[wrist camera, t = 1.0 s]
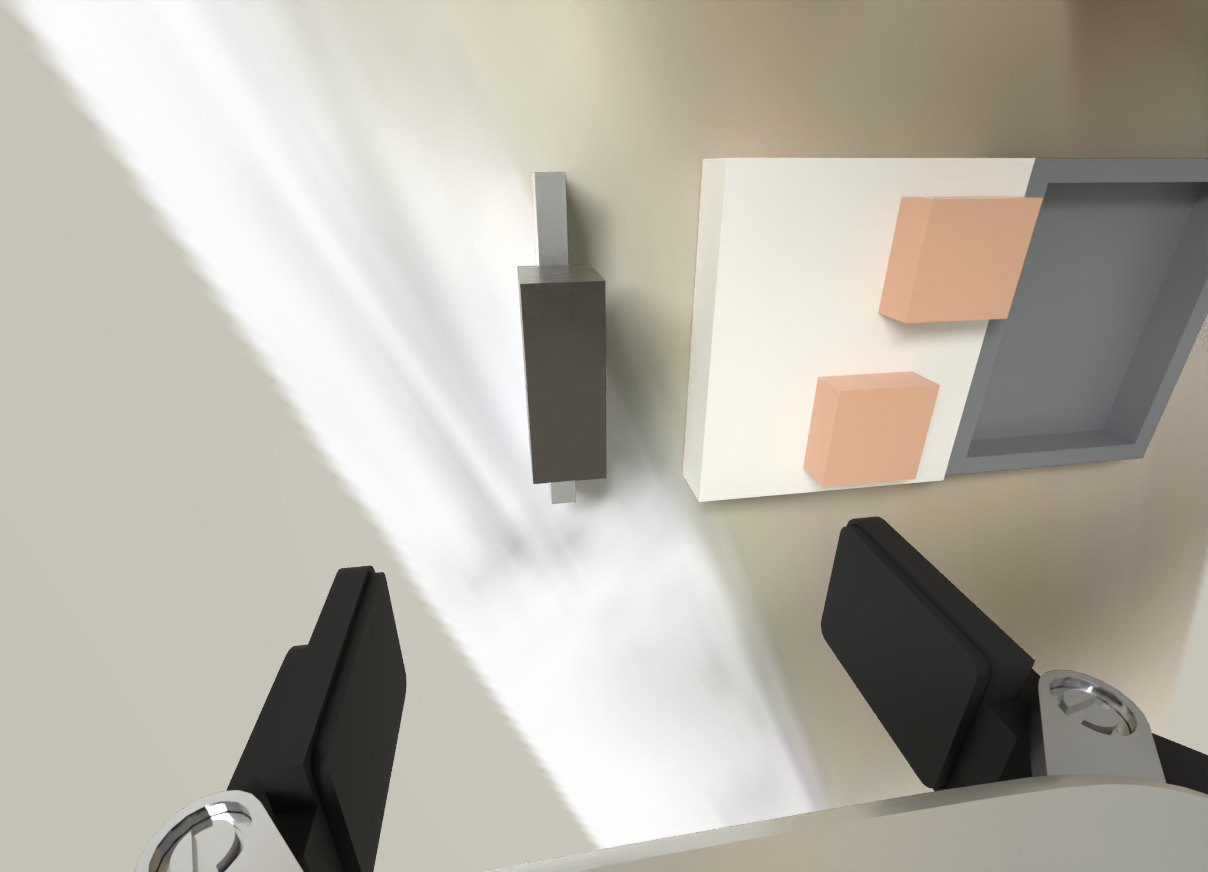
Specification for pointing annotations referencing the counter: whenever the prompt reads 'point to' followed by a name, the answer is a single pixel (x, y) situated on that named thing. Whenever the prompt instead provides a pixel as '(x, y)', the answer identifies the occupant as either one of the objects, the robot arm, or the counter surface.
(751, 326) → the offwhite board
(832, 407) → the tile
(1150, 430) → the tray
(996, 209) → the tile
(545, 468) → the dark block with bar
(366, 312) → the counter surface
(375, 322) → the counter surface
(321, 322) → the counter surface
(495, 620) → the counter surface
